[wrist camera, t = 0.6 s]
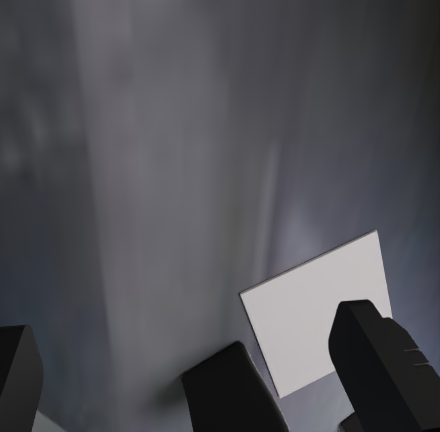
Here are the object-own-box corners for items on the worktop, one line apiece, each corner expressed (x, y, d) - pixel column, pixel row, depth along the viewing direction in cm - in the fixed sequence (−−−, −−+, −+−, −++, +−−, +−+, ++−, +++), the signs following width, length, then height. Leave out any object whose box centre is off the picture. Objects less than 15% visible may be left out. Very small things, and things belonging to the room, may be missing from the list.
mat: (239, 293, 35) (240, 294, 35) (374, 229, 37) (377, 230, 37) (279, 396, 41) (280, 398, 41) (394, 337, 43) (396, 339, 42)
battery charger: (195, 400, 38) (230, 524, 28) (176, 375, 36) (207, 498, 26) (257, 363, 39) (314, 471, 28) (242, 337, 37) (296, 442, 27)
